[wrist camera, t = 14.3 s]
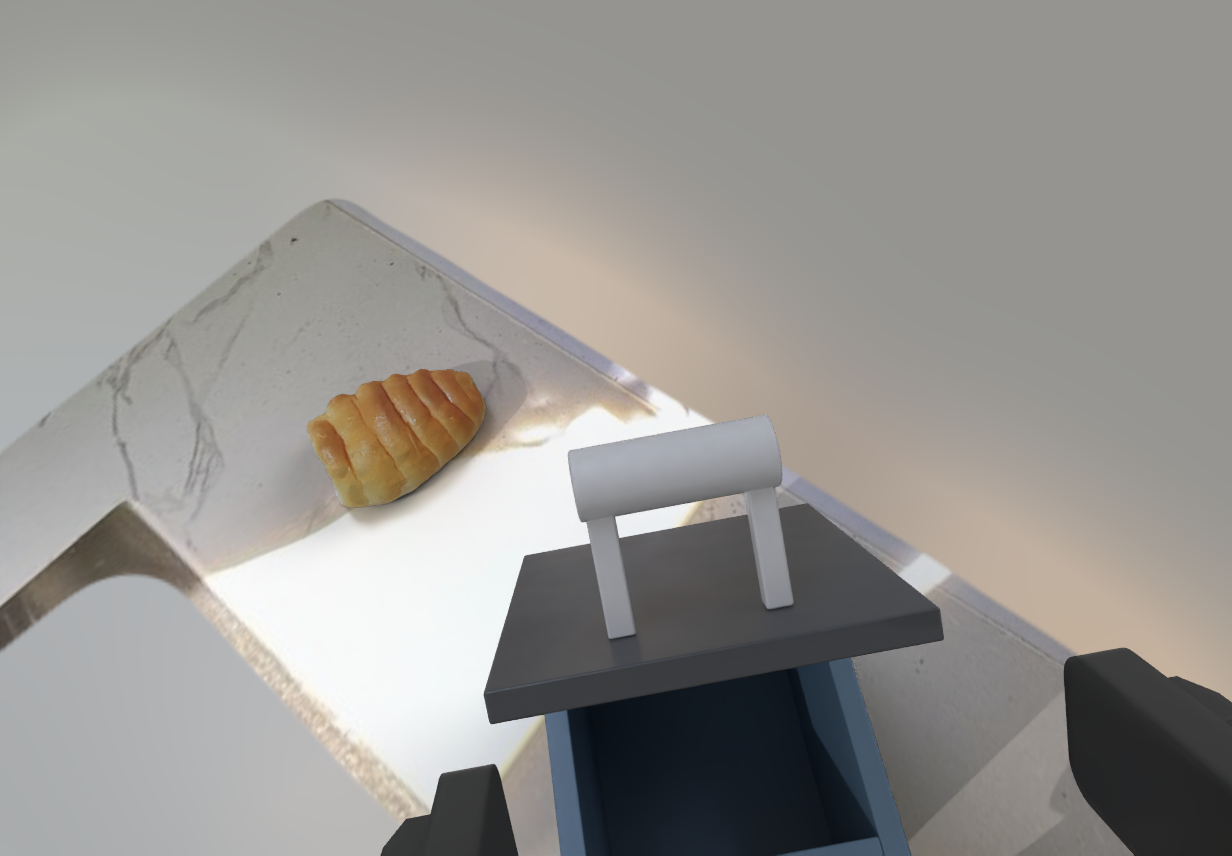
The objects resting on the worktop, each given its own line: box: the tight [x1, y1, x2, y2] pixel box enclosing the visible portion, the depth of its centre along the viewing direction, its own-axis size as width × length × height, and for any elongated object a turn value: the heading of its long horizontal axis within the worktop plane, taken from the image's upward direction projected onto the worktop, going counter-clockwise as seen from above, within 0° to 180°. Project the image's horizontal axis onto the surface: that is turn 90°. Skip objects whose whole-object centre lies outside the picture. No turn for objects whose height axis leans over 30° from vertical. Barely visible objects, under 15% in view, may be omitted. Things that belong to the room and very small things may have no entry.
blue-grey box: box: [545, 657, 911, 856], centre depth 34 cm, size 12×11×11 cm
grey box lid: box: [484, 415, 944, 724], centre depth 26 cm, size 12×11×6 cm
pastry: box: [307, 369, 486, 508], centre depth 48 cm, size 9×7×4 cm
